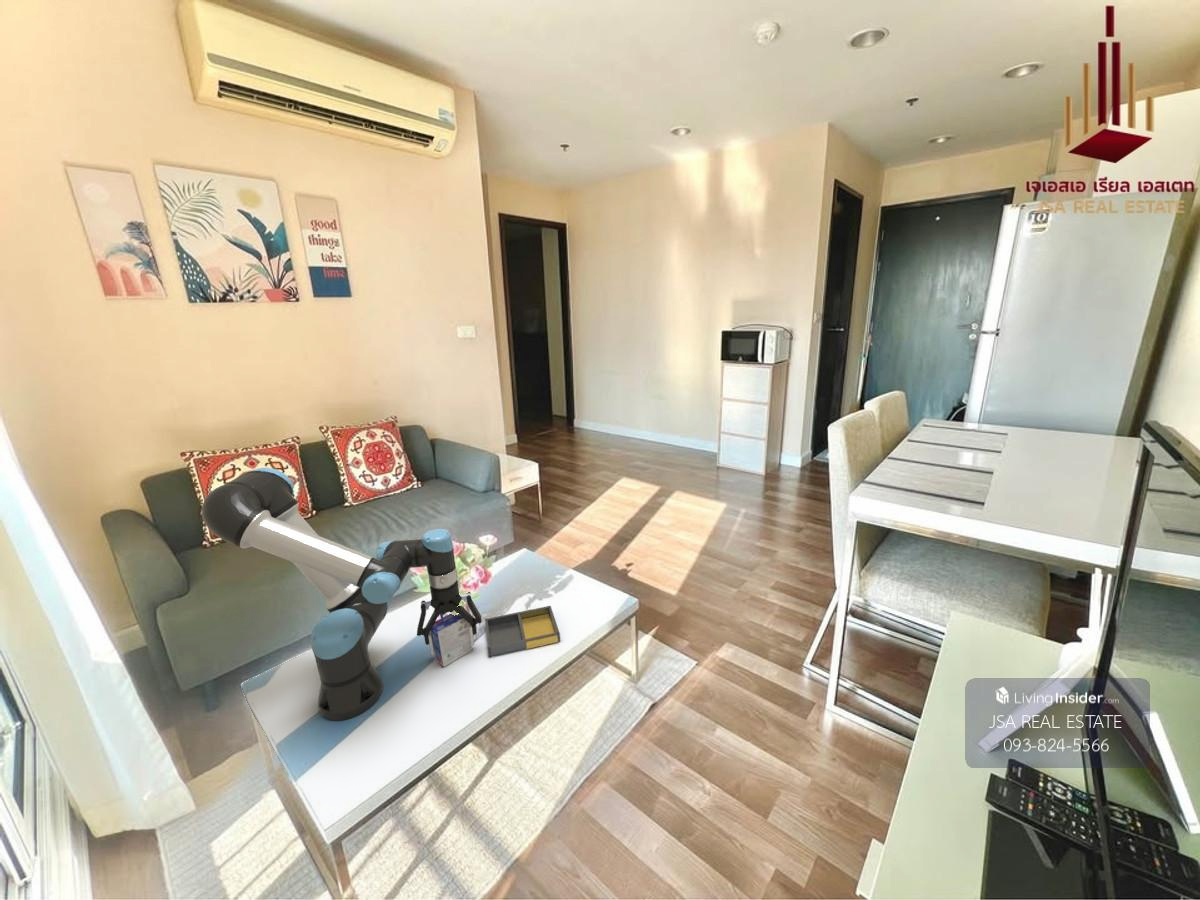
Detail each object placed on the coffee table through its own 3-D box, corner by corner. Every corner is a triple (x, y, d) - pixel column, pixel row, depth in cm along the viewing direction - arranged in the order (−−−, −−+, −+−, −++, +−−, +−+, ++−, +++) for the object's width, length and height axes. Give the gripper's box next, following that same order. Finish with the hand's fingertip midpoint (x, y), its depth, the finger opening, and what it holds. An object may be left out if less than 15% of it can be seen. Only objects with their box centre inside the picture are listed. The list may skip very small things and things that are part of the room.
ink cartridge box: (464, 641, 143) (458, 601, 139) (473, 649, 139) (468, 608, 135) (434, 658, 136) (427, 616, 132) (443, 668, 132) (436, 625, 128)
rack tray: (489, 658, 136) (488, 649, 135) (485, 626, 149) (484, 618, 148) (560, 642, 141) (559, 634, 140) (551, 613, 155) (550, 605, 154)
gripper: (398, 597, 124) (410, 665, 130) (486, 581, 130) (493, 647, 136) (401, 583, 131) (412, 647, 137) (484, 568, 137) (491, 631, 143)
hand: (453, 647), depth 137 cm, fingers closed on ink cartridge box, 11 cm apart
